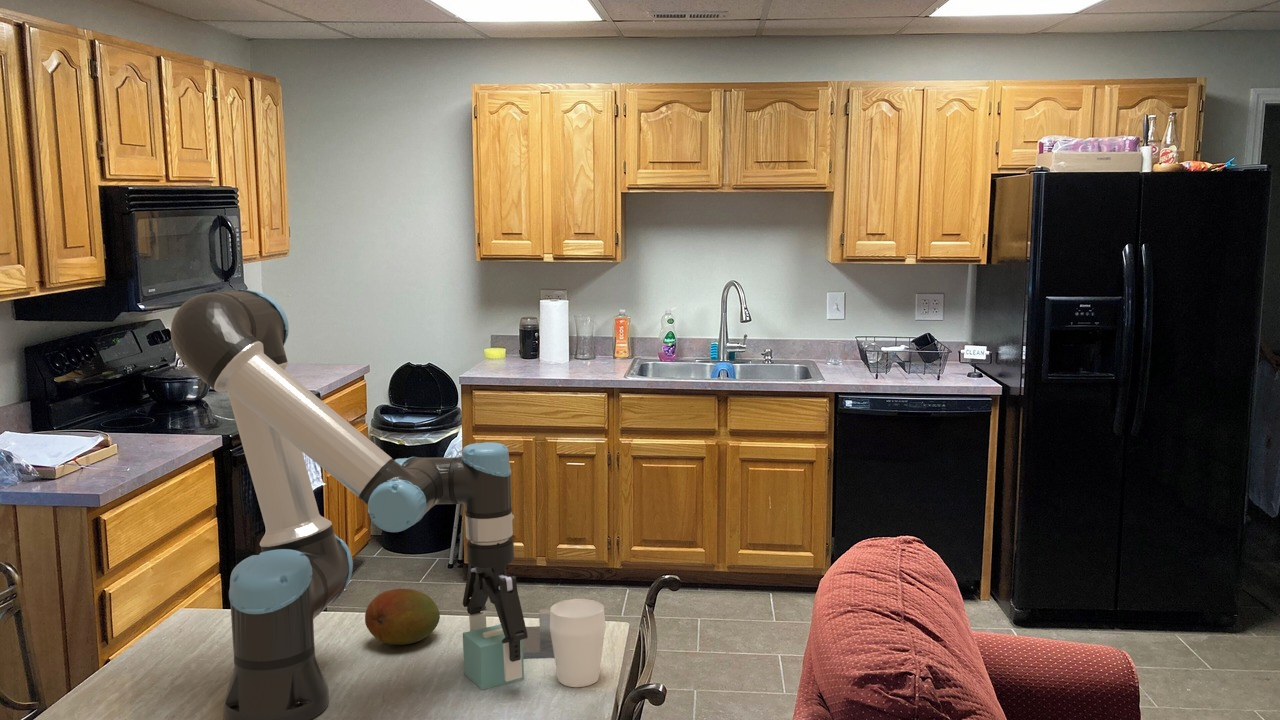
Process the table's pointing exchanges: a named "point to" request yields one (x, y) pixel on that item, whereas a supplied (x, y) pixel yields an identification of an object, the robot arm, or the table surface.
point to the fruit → (401, 616)
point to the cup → (577, 640)
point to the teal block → (486, 656)
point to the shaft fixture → (539, 638)
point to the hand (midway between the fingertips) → (495, 664)
